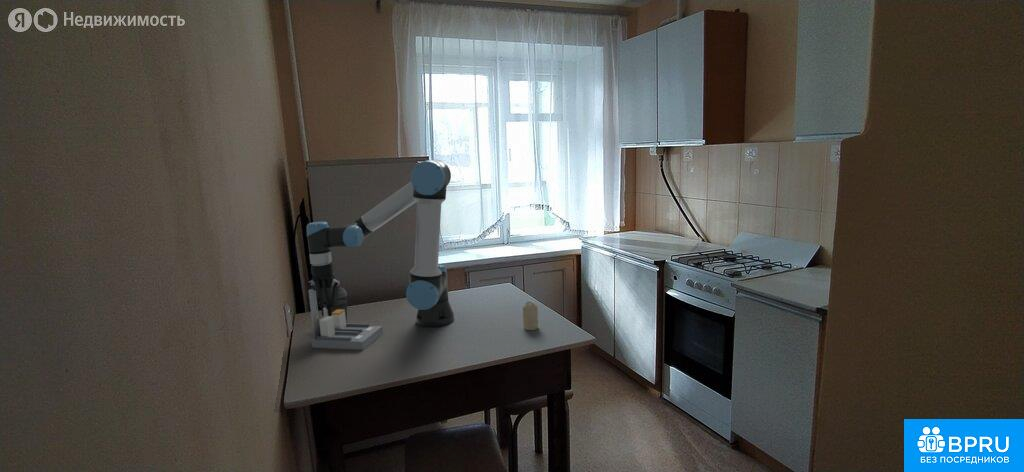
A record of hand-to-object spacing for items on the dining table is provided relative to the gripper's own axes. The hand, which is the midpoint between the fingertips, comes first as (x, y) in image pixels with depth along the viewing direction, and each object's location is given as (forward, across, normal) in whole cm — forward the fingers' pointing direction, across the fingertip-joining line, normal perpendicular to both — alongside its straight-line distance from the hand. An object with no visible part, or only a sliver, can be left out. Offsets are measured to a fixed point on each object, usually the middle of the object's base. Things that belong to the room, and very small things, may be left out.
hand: (328, 323), depth 182 cm
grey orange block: (+2, -5, 0) cm, 5 cm away
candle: (+5, -76, -14) cm, 77 cm away
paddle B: (+2, -5, +8) cm, 9 cm away
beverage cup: (+5, +2, -12) cm, 13 cm away
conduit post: (+2, -1, +10) cm, 10 cm away
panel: (+5, -10, +4) cm, 12 cm away
